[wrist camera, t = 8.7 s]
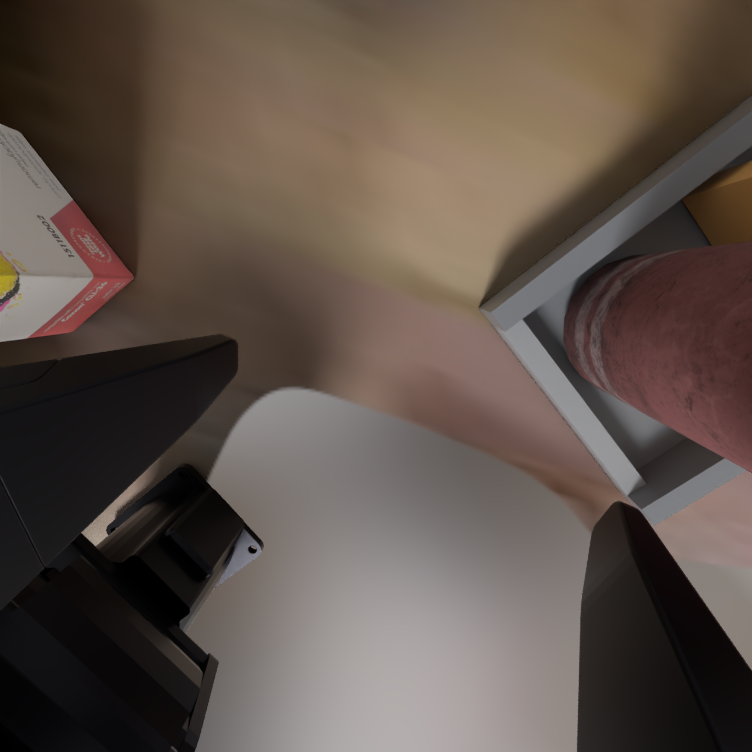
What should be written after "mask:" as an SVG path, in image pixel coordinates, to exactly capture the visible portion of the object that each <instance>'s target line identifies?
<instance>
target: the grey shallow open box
mask: <svg viewBox="0 0 752 752" xmlns="http://www.w3.org/2000/svg"><path fill="white" fill-rule="evenodd" d="M751 160H752V95H751V96H750V97H748V98H747V99H746V100H745V101H743V102H742V103H741V104H739V105H738V106H737V107H736V108H734V109H733V110H732V111H730V112H729V113H728V114H727V115H725V116H724V117H723V118H721V119H720V120H719V121H718V122H716V123H715V124H714V125H712V126H711V127H710V128H709V129H707V130H706V131H705V132H703V133H702V134H701V135H700V136H698V137H697V138H696V139H695V140H693V141H692V142H691V143H689V144H688V145H687V146H686V147H684V148H683V149H682V150H680V151H679V152H678V153H677V154H675V155H674V156H673V157H671V158H670V159H669V160H668V161H666V162H665V163H664V164H662V165H661V166H660V167H659V168H657V169H656V170H655V171H654V172H652V173H651V174H650V175H648V176H647V177H646V178H645V179H643V180H642V181H641V182H639V183H638V184H637V185H636V186H634V187H633V188H632V189H630V190H629V191H628V192H627V193H625V194H624V195H623V196H621V197H620V198H619V199H618V200H616V201H615V202H614V203H612V204H611V205H610V206H609V207H607V208H606V209H605V210H604V211H602V212H601V213H600V214H598V215H597V216H596V217H595V218H593V219H592V220H591V221H589V222H588V223H587V224H586V225H584V226H583V227H582V228H580V229H579V230H578V231H577V232H575V233H574V234H573V235H571V236H570V237H569V238H568V239H566V240H565V241H564V242H562V243H561V244H560V245H559V246H557V247H556V248H555V249H554V250H552V251H551V252H550V253H548V254H547V255H546V256H545V257H543V258H542V259H541V260H539V261H538V262H537V263H536V264H534V265H533V266H532V267H530V268H529V269H528V270H527V271H525V272H524V273H523V274H521V275H520V276H519V277H518V278H516V279H515V280H514V281H512V282H511V283H510V284H509V285H507V286H506V287H505V288H504V289H502V290H501V291H500V292H498V293H497V294H496V295H495V296H493V297H492V298H491V299H489V300H488V301H487V302H486V303H484V304H483V305H482V306H480V307H479V309H480V311H481V312H482V313H483V315H484V316H485V317H486V318H487V320H488V321H489V322H490V324H491V325H492V326H493V328H494V329H495V330H496V332H497V333H498V334H499V335H500V337H501V338H502V339H503V341H504V342H505V343H506V345H507V346H508V347H509V348H510V350H511V351H512V352H513V354H514V355H515V356H516V358H517V359H518V360H519V361H520V363H521V364H522V365H523V367H524V368H525V369H526V371H527V372H528V373H529V375H530V376H531V377H532V378H533V380H534V381H535V382H536V384H537V385H538V386H539V388H540V389H541V390H542V391H543V393H544V394H545V395H546V397H547V398H548V399H549V401H550V402H551V403H552V404H553V406H554V407H555V408H556V410H557V411H558V412H559V414H560V415H561V416H562V418H563V419H564V420H565V421H566V423H567V424H568V425H569V427H570V428H571V429H572V431H573V432H574V433H575V434H576V436H577V437H578V438H579V440H580V441H581V442H582V444H583V445H584V446H585V447H586V449H587V450H588V451H589V453H590V454H591V455H592V457H593V458H594V459H595V461H596V462H597V463H598V464H599V466H600V467H601V468H602V470H603V471H604V472H605V474H606V475H607V476H608V477H609V479H610V480H611V481H612V483H613V484H614V485H615V487H616V488H617V489H618V491H619V492H620V493H621V494H622V495H623V496H624V497H625V498H626V499H627V500H628V501H629V502H630V503H631V504H632V505H633V506H634V507H635V508H637V509H639V510H640V511H641V512H642V514H643V515H644V517H645V518H646V519H647V520H648V521H649V522H650V523H651V524H653V525H654V526H655V525H656V524H658V523H660V522H661V521H663V520H665V519H666V518H668V517H670V516H671V515H673V514H675V513H676V512H678V511H680V510H681V509H683V508H685V507H686V506H688V505H690V504H691V503H693V502H695V501H696V500H698V499H700V498H701V497H703V496H705V495H706V494H708V493H710V492H711V491H713V490H715V489H716V488H718V487H720V486H721V485H723V484H725V483H726V482H728V481H730V480H731V479H733V478H735V477H736V476H738V475H740V474H741V473H743V472H745V471H746V470H745V469H744V468H742V467H740V466H738V465H736V464H735V463H733V462H731V461H729V460H727V459H725V458H724V457H722V456H720V455H718V454H716V453H715V452H713V451H711V450H709V449H707V448H706V447H704V446H702V445H700V444H698V443H696V442H695V441H693V440H691V439H689V438H687V437H686V436H684V435H682V434H680V433H678V432H676V431H675V430H673V429H671V428H669V427H667V426H666V425H664V424H662V423H660V422H658V421H657V420H655V419H653V418H651V417H649V416H647V415H646V414H644V413H642V412H640V411H638V410H637V409H635V408H633V407H631V406H629V405H627V404H626V403H624V402H622V401H620V400H618V399H617V398H615V397H613V396H611V395H609V394H607V393H606V392H604V391H602V390H600V389H598V388H597V387H595V386H594V385H592V384H591V383H590V382H588V381H587V380H585V379H584V378H582V377H581V376H580V375H579V374H578V372H577V371H576V369H575V368H574V366H573V365H572V364H571V362H570V361H569V359H568V356H567V352H566V349H565V345H564V341H563V330H564V317H565V315H566V312H567V310H568V307H569V304H570V302H571V299H572V297H573V295H574V294H575V293H576V292H577V290H578V289H579V288H580V287H581V285H582V284H583V283H584V281H585V280H586V279H587V278H588V277H589V276H591V275H592V274H593V273H595V272H596V271H598V270H599V269H600V268H602V267H603V266H605V265H606V264H608V263H611V262H614V261H616V260H619V259H622V258H625V257H628V256H632V255H641V254H649V253H657V252H666V251H674V250H682V249H691V248H699V247H707V246H712V245H711V243H710V242H709V240H708V239H707V237H706V236H705V234H704V233H703V231H702V230H701V228H700V227H699V225H698V224H697V222H696V220H695V219H694V217H693V216H692V214H691V213H690V211H689V210H688V208H687V207H686V205H685V204H684V202H683V201H682V198H683V197H684V196H686V195H687V194H688V193H690V192H691V191H692V190H694V189H695V188H696V187H698V186H699V185H700V184H702V183H703V182H704V181H706V180H707V179H708V178H710V177H711V176H712V175H714V174H715V173H717V172H720V171H723V170H726V169H729V168H731V167H734V166H737V165H740V164H743V163H746V162H748V161H751Z"/></svg>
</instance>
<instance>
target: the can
mask: <svg viewBox="0 0 752 752" xmlns="http://www.w3.org/2000/svg"><path fill="white" fill-rule="evenodd" d="M563 341H564V345H565V349H566V352H567V356H568V359H569V361H570V362H571V364H572V365H573V366H574V368H575V369H576V371H577V372H578V374H579V375H580V376H581V377H582V378H584V379H585V380H587V381H588V382H590V383H591V384H592V385H594V386H595V387H597V388H598V389H600V390H602V391H604V392H606V393H607V394H609V395H611V396H613V397H615V398H617V399H618V400H620V401H622V402H624V403H626V404H627V405H629V406H631V407H633V408H635V409H637V410H638V411H640V412H642V413H644V414H646V415H647V416H649V417H651V418H653V419H655V420H657V421H658V422H660V423H662V424H664V425H666V426H667V427H669V428H671V429H673V430H675V431H676V432H678V433H680V434H682V435H684V436H686V437H687V438H689V439H691V440H693V441H695V442H696V443H698V444H700V445H702V446H704V447H706V448H707V449H709V450H711V451H713V452H715V453H716V454H718V455H720V456H722V457H724V458H725V459H727V460H729V461H731V462H733V463H735V464H736V465H738V466H740V467H742V468H744V469H745V470H747V471H749V472H751V473H752V241H749V242H740V243H732V244H724V245H716V246H707V247H699V248H691V249H682V250H674V251H666V252H657V253H649V254H641V255H632V256H628V257H625V258H622V259H619V260H616V261H614V262H611V263H608V264H606V265H605V266H603V267H602V268H600V269H599V270H598V271H596V272H595V273H593V274H592V275H591V276H589V277H588V278H587V279H586V280H585V281H584V283H583V284H582V285H581V287H580V288H579V289H578V290H577V292H576V293H575V294H574V295H573V297H572V299H571V302H570V304H569V307H568V310H567V312H566V315H565V317H564V330H563Z"/></svg>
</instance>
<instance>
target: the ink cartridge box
mask: <svg viewBox="0 0 752 752" xmlns="http://www.w3.org/2000/svg"><path fill="white" fill-rule="evenodd" d="M133 279H134V277H133V274H132V273H131V272H130V271H129V270H128V269H127V268H126V267H125V265H124V264H123V263H122V261H121V260H120V259H119V258H118V256H117V255H116V254H115V253H114V251H113V250H112V249H111V247H110V246H109V245H108V244H107V242H106V241H105V240H104V239H103V237H102V236H101V235H100V234H99V232H98V231H97V229H96V228H95V227H94V226H93V225H92V223H91V222H90V221H89V219H88V218H87V217H86V216H85V214H84V213H83V212H82V210H81V209H80V208H79V207H78V205H77V204H76V203H75V202H74V200H73V199H72V198H71V196H70V195H69V194H68V193H67V191H66V190H65V189H64V187H63V186H62V185H61V184H60V182H59V181H58V180H57V179H56V177H55V176H54V175H53V173H52V172H51V171H50V170H49V168H48V167H47V166H46V164H45V163H44V162H43V161H42V159H41V158H40V157H39V155H38V154H37V153H36V152H35V150H34V149H33V148H32V146H31V145H30V144H29V143H28V141H27V140H26V139H25V138H24V136H23V135H22V134H21V133H20V132H18V131H17V130H14V129H11V128H9V127H6V126H4V125H2V124H0V342H4V341H11V340H20V339H26V338H33V337H41V336H48V335H56V334H63V333H70V332H73V331H75V329H76V328H78V327H79V326H80V325H81V324H82V323H83V322H85V321H86V320H87V319H88V318H89V317H90V316H91V315H92V314H93V313H95V312H96V311H97V310H98V309H99V308H100V307H101V306H103V305H104V304H105V303H106V302H107V301H108V300H110V299H111V298H112V297H113V296H114V295H115V294H117V293H118V292H119V291H120V290H121V289H123V288H124V287H125V286H126V285H127V284H128V283H129V282H131V281H132V280H133Z"/></svg>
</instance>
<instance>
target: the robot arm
mask: <svg viewBox="0 0 752 752" xmlns="http://www.w3.org/2000/svg"><path fill="white" fill-rule="evenodd" d="M237 370H238V343H237V341H236V340H235V339H233V338H231V337H228V336H226V335H223V334H217V335H211V336H204V337H198V338H191V339H185V340H178V341H172V342H165V343H159V344H152V345H146V346H139V347H133V348H126V349H120V350H113V351H107V352H100V353H94V354H87V355H81V356H74V357H68V358H61V359H60V360H58V359H54V360H48V361H41V362H34V363H27V364H20V365H13V366H5V367H0V752H195V749H196V746H197V743H198V740H199V737H200V733H201V729H202V726H203V722H204V718H205V714H206V710H207V706H208V702H209V698H210V694H211V690H212V687H213V683H214V679H215V674H216V671H217V667H218V663H219V662H218V660H217V659H216V658H215V657H213V656H212V655H211V654H210V653H209V654H206V653H205V652H204V651H203V650H202V649H201V648H200V647H199V646H198V645H197V644H196V643H195V642H194V641H193V640H192V639H191V638H190V637H189V636H188V635H187V634H186V633H187V631H188V630H189V628H190V627H191V625H192V623H193V622H194V620H195V618H196V617H197V615H198V614H199V612H200V610H201V609H202V607H203V606H204V604H205V603H206V601H207V599H208V598H209V596H210V595H211V593H212V591H213V590H214V588H216V587H217V586H218V585H220V584H221V583H223V582H224V581H225V580H226V579H228V578H229V577H231V576H232V575H233V574H235V573H236V572H238V571H239V570H240V569H242V568H243V567H244V566H246V565H247V564H248V563H250V562H251V561H253V560H254V559H255V558H257V557H258V556H259V555H260V554H261V551H262V550H263V547H264V545H263V542H262V541H261V540H260V539H259V537H258V536H257V535H256V534H255V533H254V532H253V531H252V530H251V529H250V528H249V527H248V526H247V525H246V523H245V522H244V521H243V519H242V518H241V517H240V516H239V515H238V514H237V513H236V512H235V511H234V510H233V509H232V508H231V507H230V505H229V504H228V503H227V502H226V501H225V500H224V499H223V498H222V497H221V496H220V495H219V494H218V493H217V491H215V490H214V489H213V488H212V487H211V486H210V485H209V484H208V483H207V482H206V480H205V479H204V478H203V477H202V476H201V475H200V474H199V473H198V472H197V471H196V470H195V469H194V468H193V467H192V466H191V465H189V464H182V465H180V466H179V467H178V468H177V469H175V470H174V471H173V472H172V473H171V474H169V475H168V476H167V477H166V478H165V479H163V480H162V481H161V482H160V483H159V484H157V485H156V486H155V487H154V488H153V489H151V490H150V491H149V492H148V493H147V494H145V495H144V496H143V497H142V498H140V499H139V500H138V501H137V502H136V503H134V504H133V505H132V506H131V507H130V508H128V509H127V510H126V511H125V512H124V513H122V514H121V515H120V516H119V517H118V518H116V519H115V520H114V521H113V522H112V523H110V524H109V525H108V526H107V529H106V531H107V534H108V535H109V536H107V537H106V538H105V539H104V540H103V541H102V542H100V543H99V544H98V545H97V546H96V547H95V546H94V545H93V544H92V543H91V542H90V541H89V540H88V539H87V538H86V537H85V536H84V535H83V534H82V533H81V532H82V531H83V530H84V529H85V528H87V527H88V526H89V525H90V524H91V523H92V522H93V521H94V520H95V519H96V518H97V517H98V516H99V515H100V514H101V513H102V512H103V511H104V510H105V509H106V508H107V507H108V506H109V505H110V504H111V503H112V502H113V501H115V500H116V499H117V498H118V497H119V496H120V495H121V494H122V493H123V492H124V491H125V490H126V489H127V488H128V487H129V486H130V485H131V484H132V483H133V482H134V481H135V480H136V479H137V478H138V477H139V476H140V475H142V474H143V473H144V472H145V471H146V470H147V469H148V468H149V467H150V466H151V465H152V464H153V463H154V462H155V461H156V460H157V459H158V458H159V457H160V456H161V455H162V454H163V453H164V452H165V451H166V450H167V449H168V448H170V447H171V446H172V445H173V444H174V443H175V442H176V441H177V440H178V439H179V438H180V437H181V436H182V435H183V434H184V433H185V432H186V431H187V430H188V429H189V428H190V427H191V426H192V425H193V424H194V423H195V422H196V421H197V420H198V419H199V418H200V417H201V416H202V415H203V414H204V412H205V411H206V410H207V409H208V408H209V406H210V405H211V404H212V403H213V402H214V400H215V399H216V398H217V397H218V396H219V394H220V393H221V392H222V391H223V390H224V389H225V387H226V386H227V385H228V384H229V383H230V381H231V380H232V379H233V378H234V376H235V375H236V373H237ZM182 471H184V472H186V473H187V477H186V476H184V475H183V474H182ZM116 528H117V529H116ZM251 545H252V546H255V547H256V548H257V549H253V548H251ZM579 657H580V658H579V693H578V695H579V696H578V731H577V733H578V734H577V752H752V670H751V669H750V667H749V666H748V664H747V663H746V662H745V660H744V659H743V657H742V656H741V654H740V653H739V651H738V650H737V649H736V647H735V646H734V644H733V643H732V641H731V640H730V639H729V637H728V636H727V634H726V633H725V631H724V630H723V629H722V627H721V626H720V624H719V623H718V621H717V620H716V618H715V617H714V616H713V614H712V613H711V611H710V610H709V608H708V607H707V606H706V604H705V603H704V601H703V600H702V598H701V597H700V596H699V594H698V593H697V591H696V590H695V588H694V587H693V585H692V584H691V583H690V581H689V580H688V578H687V577H686V576H685V574H684V573H683V571H682V570H681V568H680V567H679V566H678V564H677V562H676V561H675V560H674V558H673V557H672V555H671V554H670V552H669V551H668V550H667V548H666V547H665V545H664V544H663V542H662V541H661V540H660V538H659V537H658V535H657V534H656V532H655V531H654V530H653V528H652V527H651V525H650V524H649V522H648V521H647V519H646V518H645V517H644V515H643V514H642V512H641V511H640V510H639V509H637V508H635V507H633V506H630V505H628V504H626V503H623V502H621V501H617V502H615V503H613V504H612V505H611V506H610V508H609V509H608V510H607V511H606V512H605V514H604V515H603V516H602V517H601V518H600V520H599V521H598V522H597V523H596V525H595V526H594V528H593V531H592V535H591V541H590V548H589V554H588V561H587V567H586V573H585V580H584V587H583V593H582V601H581V617H580V655H579Z"/></svg>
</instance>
